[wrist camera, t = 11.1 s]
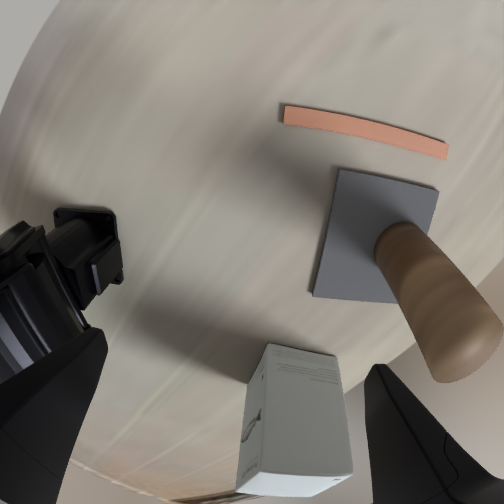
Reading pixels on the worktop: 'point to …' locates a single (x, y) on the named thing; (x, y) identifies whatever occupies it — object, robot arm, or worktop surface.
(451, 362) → the pin
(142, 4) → the worktop surface
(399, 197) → the mat
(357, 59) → the worktop surface
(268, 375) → the supplement box
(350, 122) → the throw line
